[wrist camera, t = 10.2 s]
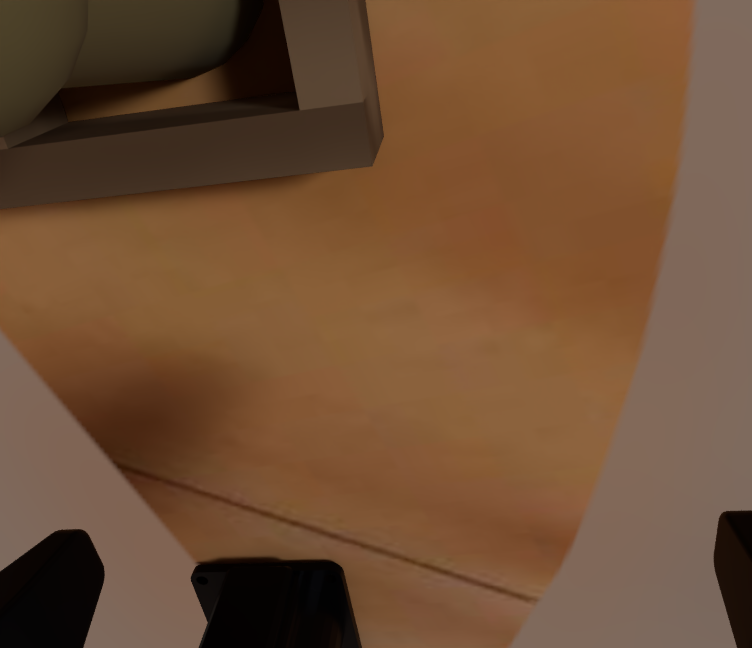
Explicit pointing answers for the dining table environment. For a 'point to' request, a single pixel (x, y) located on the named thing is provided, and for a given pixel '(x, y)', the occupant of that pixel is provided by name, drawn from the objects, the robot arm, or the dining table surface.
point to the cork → (110, 45)
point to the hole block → (215, 126)
